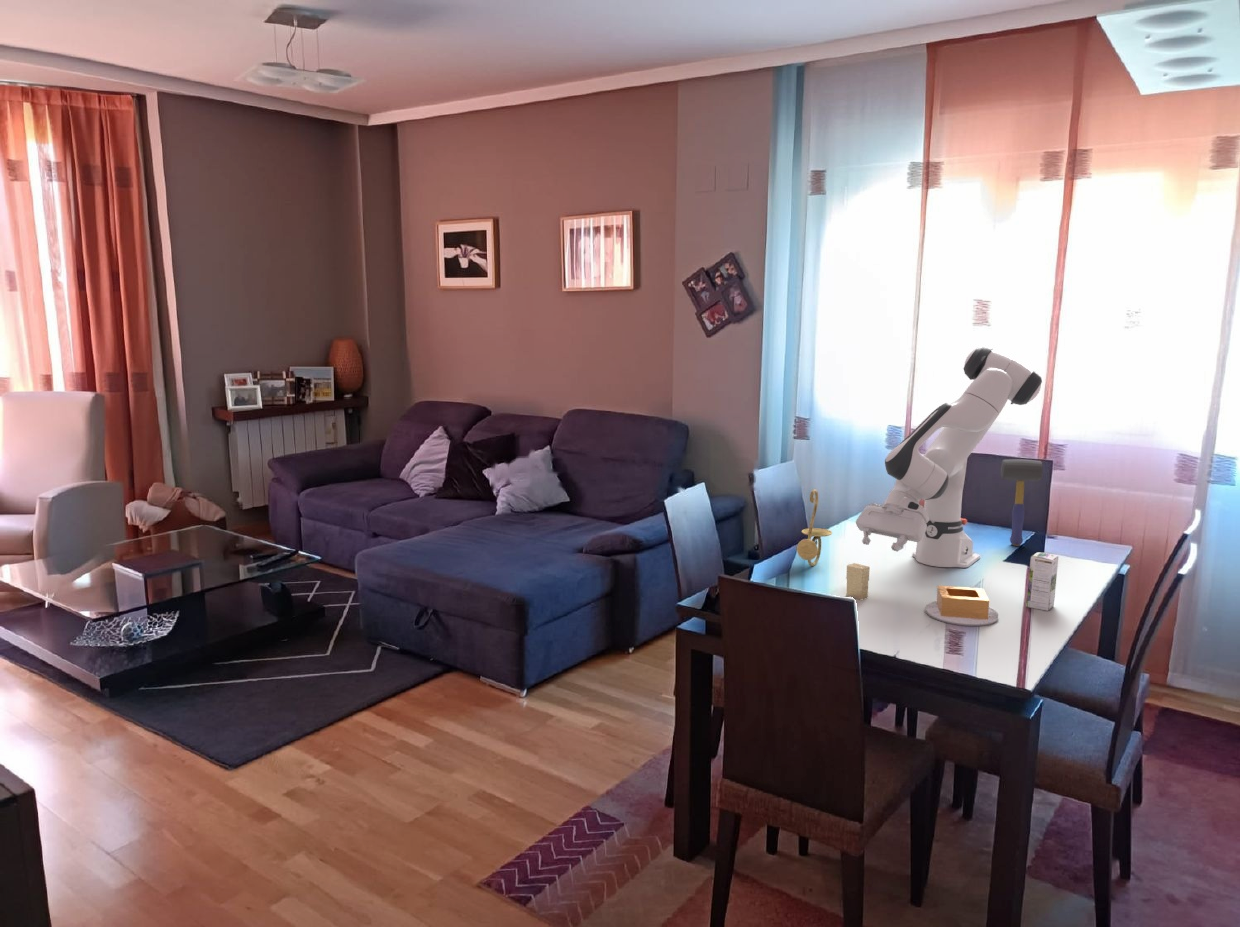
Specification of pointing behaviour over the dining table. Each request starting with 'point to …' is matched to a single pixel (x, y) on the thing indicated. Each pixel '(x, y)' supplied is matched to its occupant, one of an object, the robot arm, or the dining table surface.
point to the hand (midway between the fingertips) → (879, 546)
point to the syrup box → (1042, 581)
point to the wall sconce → (809, 547)
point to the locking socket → (962, 607)
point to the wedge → (857, 581)
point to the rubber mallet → (1020, 489)
